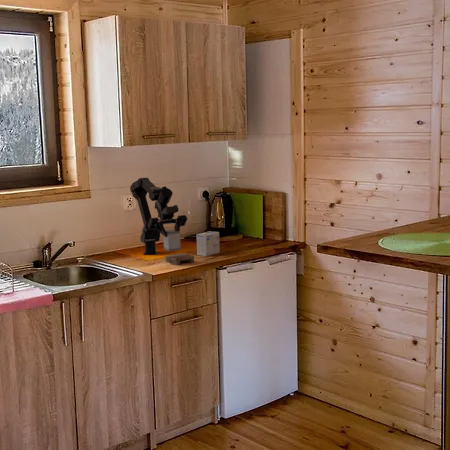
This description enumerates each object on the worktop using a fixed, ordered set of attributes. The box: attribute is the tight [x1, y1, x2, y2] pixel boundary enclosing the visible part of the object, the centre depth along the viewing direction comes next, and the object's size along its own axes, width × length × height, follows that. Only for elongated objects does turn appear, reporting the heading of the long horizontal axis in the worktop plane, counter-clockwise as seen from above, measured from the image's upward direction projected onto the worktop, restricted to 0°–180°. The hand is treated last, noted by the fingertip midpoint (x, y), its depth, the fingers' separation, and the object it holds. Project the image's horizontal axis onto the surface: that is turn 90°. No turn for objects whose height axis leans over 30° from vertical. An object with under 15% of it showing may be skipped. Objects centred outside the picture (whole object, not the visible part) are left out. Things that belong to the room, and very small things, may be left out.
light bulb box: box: [196, 230, 221, 257], centre depth 350 cm, size 11×7×11 cm, turn 141°
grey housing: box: [162, 228, 181, 252], centre depth 328 cm, size 6×6×9 cm
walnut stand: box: [164, 252, 195, 266], centre depth 332 cm, size 10×10×3 cm
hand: (172, 236), depth 327 cm, fingers closed on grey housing, 6 cm apart
